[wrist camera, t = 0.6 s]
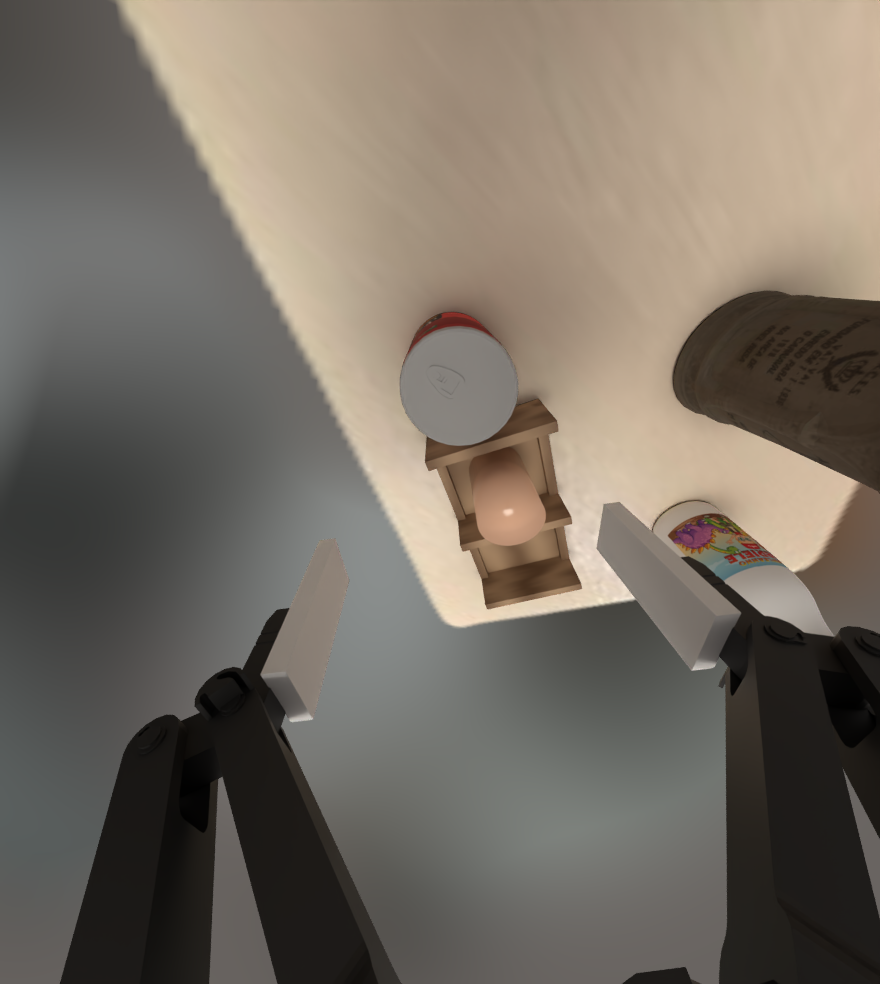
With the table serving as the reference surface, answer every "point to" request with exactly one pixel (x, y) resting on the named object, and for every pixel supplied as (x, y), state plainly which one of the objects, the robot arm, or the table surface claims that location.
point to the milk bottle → (740, 563)
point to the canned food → (457, 381)
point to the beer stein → (792, 376)
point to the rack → (545, 556)
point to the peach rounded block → (505, 498)
